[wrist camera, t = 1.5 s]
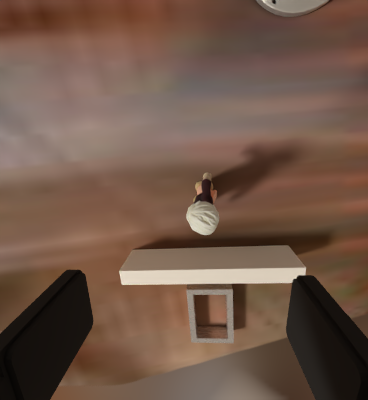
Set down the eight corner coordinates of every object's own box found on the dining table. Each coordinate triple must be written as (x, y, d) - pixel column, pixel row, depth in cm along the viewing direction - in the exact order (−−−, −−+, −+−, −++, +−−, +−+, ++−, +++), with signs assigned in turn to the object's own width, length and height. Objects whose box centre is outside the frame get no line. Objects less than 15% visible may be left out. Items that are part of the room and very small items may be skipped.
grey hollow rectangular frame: (230, 279, 36) (232, 289, 34) (231, 330, 39) (233, 343, 37) (187, 279, 37) (186, 289, 34) (192, 330, 40) (191, 342, 38)
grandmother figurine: (216, 214, 33) (224, 259, 21) (192, 214, 33) (186, 258, 21) (217, 165, 31) (226, 184, 18) (191, 166, 31) (184, 185, 19)
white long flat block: (288, 245, 33) (305, 267, 28) (287, 258, 34) (304, 282, 28) (132, 249, 36) (119, 271, 30) (134, 261, 37) (121, 284, 31)
